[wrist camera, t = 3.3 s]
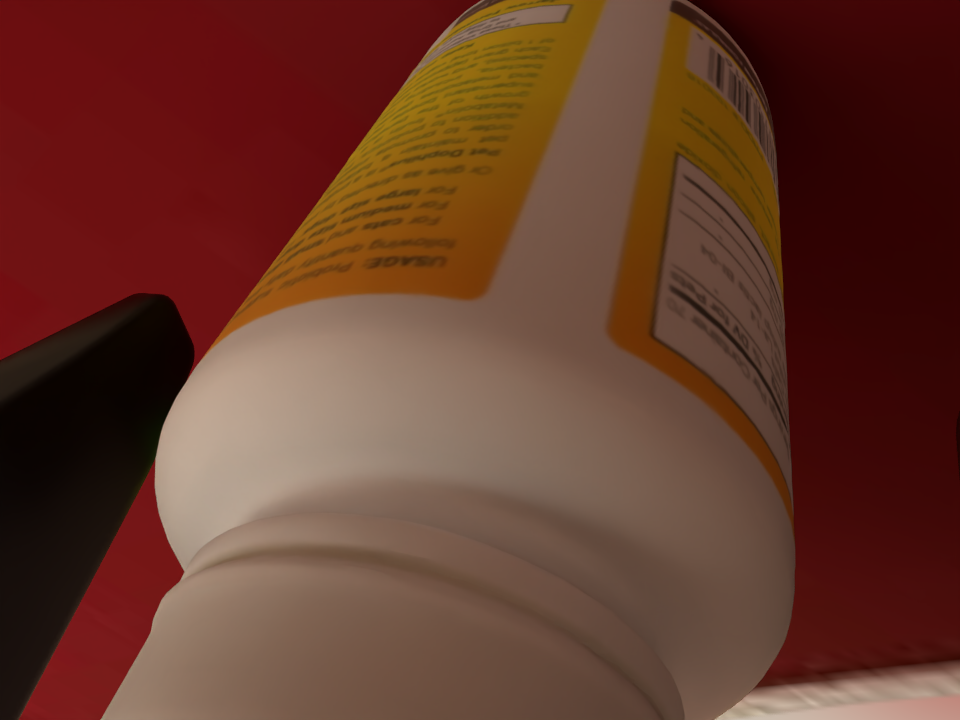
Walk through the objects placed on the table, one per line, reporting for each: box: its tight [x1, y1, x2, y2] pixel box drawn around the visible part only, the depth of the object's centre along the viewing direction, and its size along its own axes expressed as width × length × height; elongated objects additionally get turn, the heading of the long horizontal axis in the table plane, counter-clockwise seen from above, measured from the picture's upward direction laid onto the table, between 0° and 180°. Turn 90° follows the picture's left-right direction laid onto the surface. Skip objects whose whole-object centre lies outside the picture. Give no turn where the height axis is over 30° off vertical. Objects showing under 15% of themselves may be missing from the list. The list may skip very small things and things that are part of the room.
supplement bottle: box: [101, 0, 795, 720], centre depth 9 cm, size 6×6×10 cm
